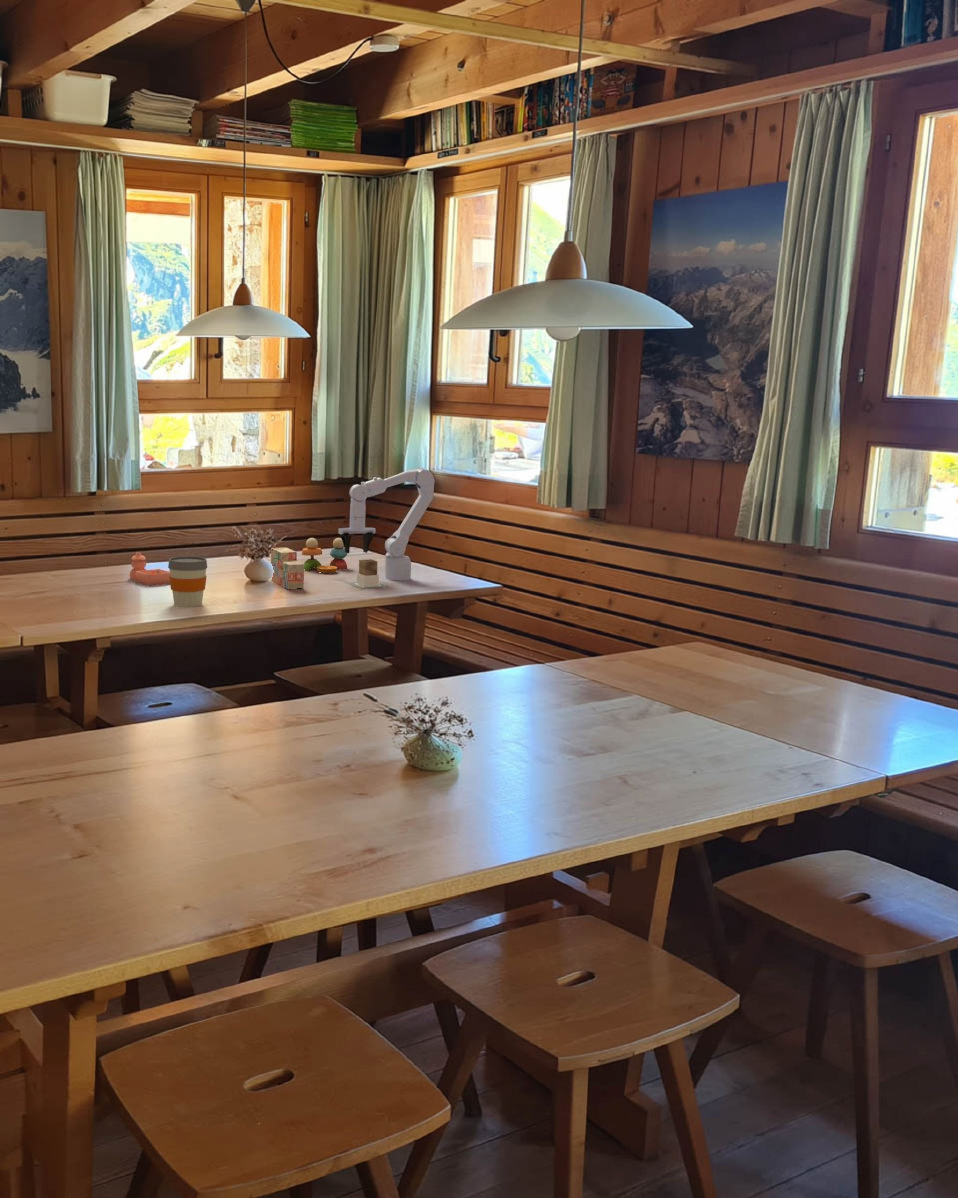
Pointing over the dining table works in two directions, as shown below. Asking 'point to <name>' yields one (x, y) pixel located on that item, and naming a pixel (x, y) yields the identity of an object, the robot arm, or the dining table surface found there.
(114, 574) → the dining table surface
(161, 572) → the pottery
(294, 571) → the stack of blocks
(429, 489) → the robot arm
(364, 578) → the base block
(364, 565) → the walnut block
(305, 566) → the wooden stacking toy
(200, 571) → the reusable coffee cup
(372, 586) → the clear glass plate
